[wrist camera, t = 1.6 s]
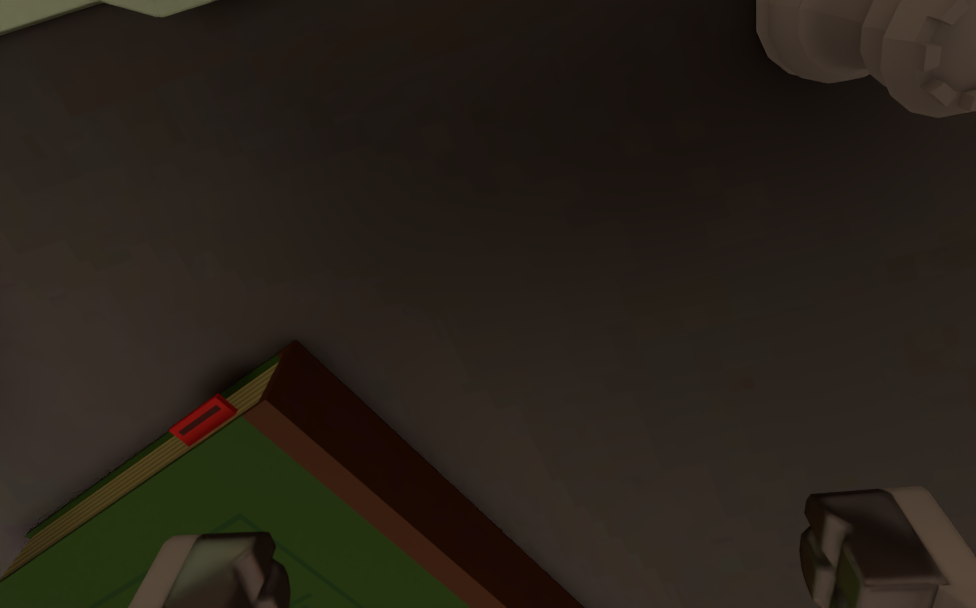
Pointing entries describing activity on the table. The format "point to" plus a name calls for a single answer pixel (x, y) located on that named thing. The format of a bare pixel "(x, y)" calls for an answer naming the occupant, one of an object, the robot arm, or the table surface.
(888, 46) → the rook chess piece
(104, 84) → the table surface
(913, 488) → the robot arm
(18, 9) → the scale
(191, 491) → the hardcover book
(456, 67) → the table surface
